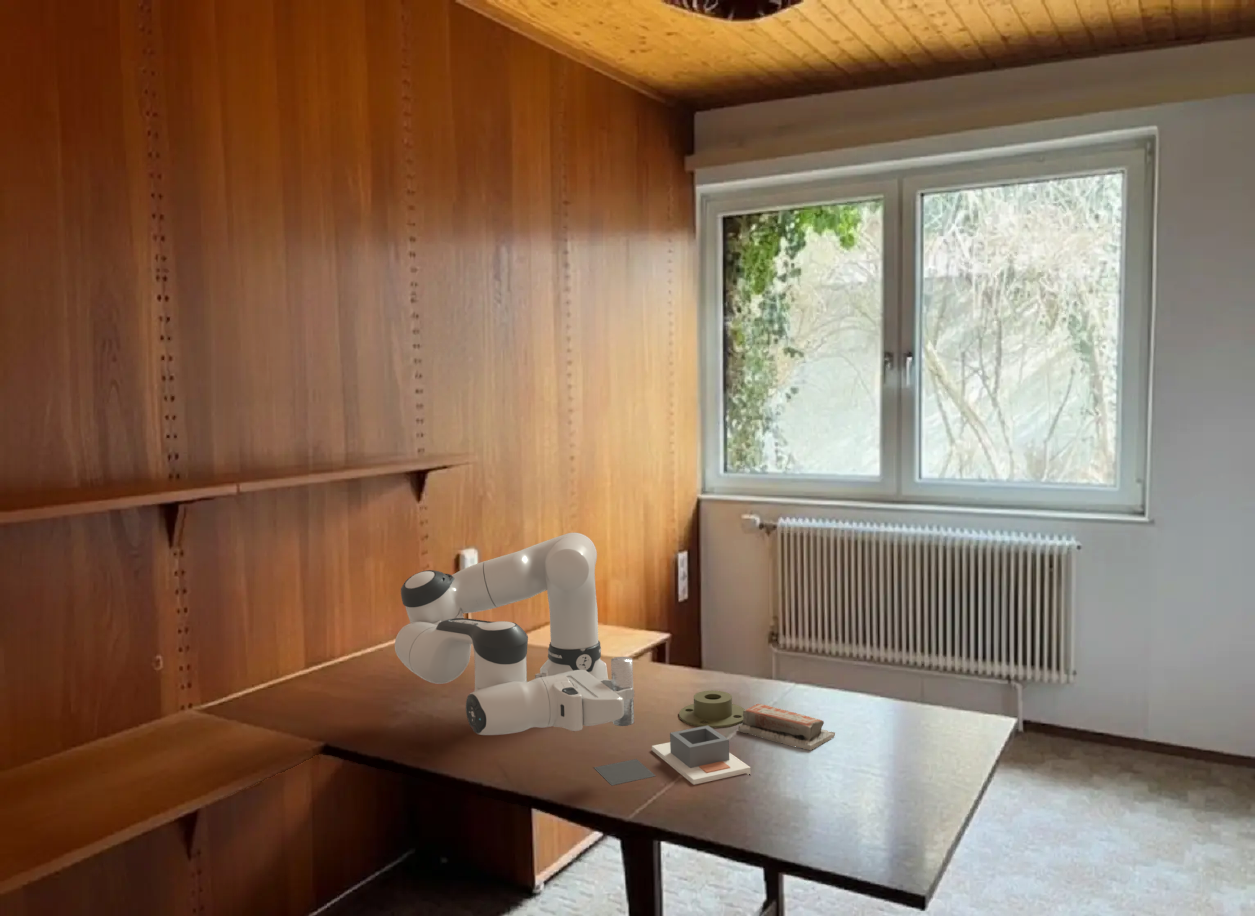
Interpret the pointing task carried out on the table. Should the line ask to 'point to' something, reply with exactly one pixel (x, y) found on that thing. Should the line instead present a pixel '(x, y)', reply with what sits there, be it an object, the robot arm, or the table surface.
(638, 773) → the pad
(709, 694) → the flange
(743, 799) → the table surface
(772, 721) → the packaged product
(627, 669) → the barrel peg
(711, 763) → the mounting plate
